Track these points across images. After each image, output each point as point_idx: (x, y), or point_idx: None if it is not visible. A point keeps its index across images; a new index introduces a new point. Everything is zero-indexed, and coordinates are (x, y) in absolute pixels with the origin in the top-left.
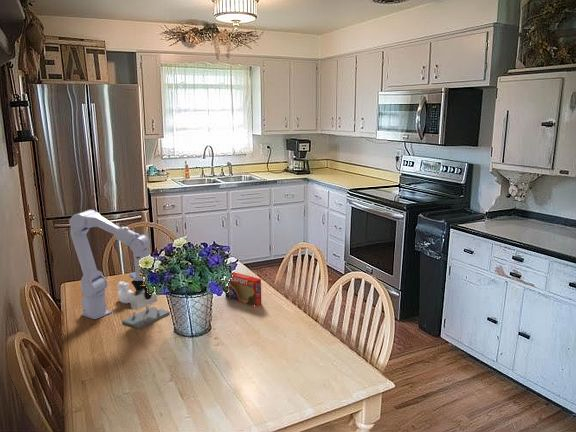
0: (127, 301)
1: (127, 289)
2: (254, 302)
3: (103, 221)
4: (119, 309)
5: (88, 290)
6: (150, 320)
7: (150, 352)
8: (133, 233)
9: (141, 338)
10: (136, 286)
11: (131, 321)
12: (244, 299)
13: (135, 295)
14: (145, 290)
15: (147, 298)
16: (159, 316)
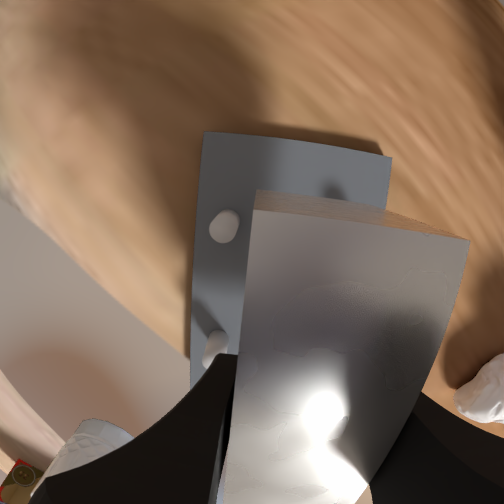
0: (491, 365)
1: None
2: (16, 468)
3: None
4: (496, 300)
5: None
6: (200, 246)
7: (11, 26)
8: None
9: (106, 59)
10: (451, 459)
11: (322, 172)
12: None
13: (291, 220)
14: (170, 438)
15: (212, 362)
16: (192, 320)
